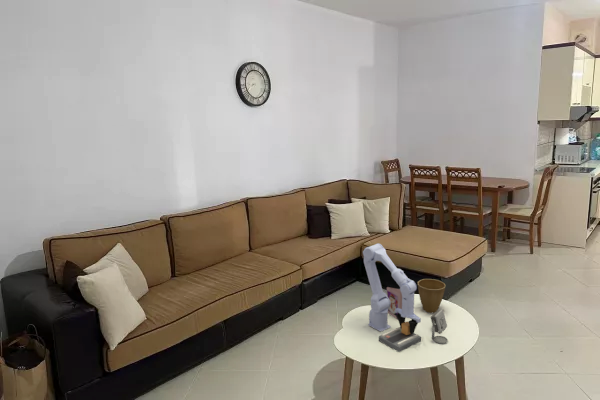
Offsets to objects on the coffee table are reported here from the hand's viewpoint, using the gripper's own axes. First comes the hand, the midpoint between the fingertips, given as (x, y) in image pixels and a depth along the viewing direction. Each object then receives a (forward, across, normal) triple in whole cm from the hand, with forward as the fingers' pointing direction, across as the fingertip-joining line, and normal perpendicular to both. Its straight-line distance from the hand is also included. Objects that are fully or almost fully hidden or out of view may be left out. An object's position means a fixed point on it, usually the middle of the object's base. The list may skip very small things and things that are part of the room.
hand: (407, 330), depth 214 cm
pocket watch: (+4, +11, +10) cm, 15 cm away
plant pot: (+4, -12, +34) cm, 36 cm away
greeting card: (+4, -20, +15) cm, 25 cm away
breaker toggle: (+1, 0, 0) cm, 1 cm away
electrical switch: (+4, +4, +20) cm, 21 cm away
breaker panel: (+4, 0, -5) cm, 6 cm away
